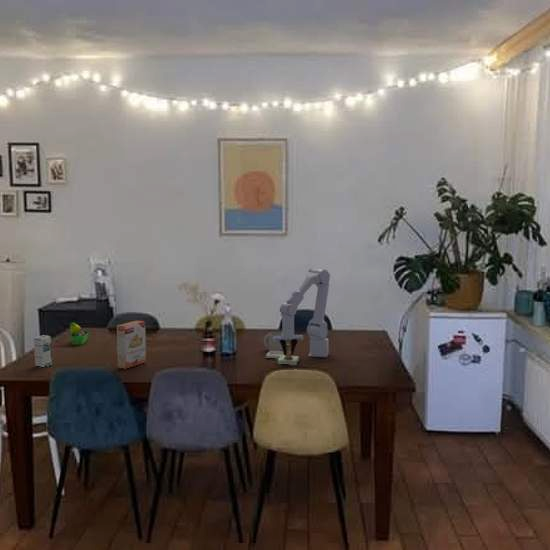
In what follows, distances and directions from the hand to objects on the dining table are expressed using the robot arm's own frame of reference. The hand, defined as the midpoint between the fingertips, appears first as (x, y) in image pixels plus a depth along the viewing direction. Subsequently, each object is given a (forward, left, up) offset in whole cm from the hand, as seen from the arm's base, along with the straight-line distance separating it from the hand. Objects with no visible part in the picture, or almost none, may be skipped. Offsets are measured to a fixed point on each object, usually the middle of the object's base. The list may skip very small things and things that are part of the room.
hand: (288, 354), depth 335 cm
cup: (+12, -22, -4) cm, 25 cm away
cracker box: (+73, +19, -4) cm, 76 cm away
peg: (0, 0, -3) cm, 3 cm away
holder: (0, 0, -4) cm, 4 cm away
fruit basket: (+120, -19, -4) cm, 122 cm away
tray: (+7, -9, -4) cm, 12 cm away
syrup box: (+115, +27, -4) cm, 118 cm away
